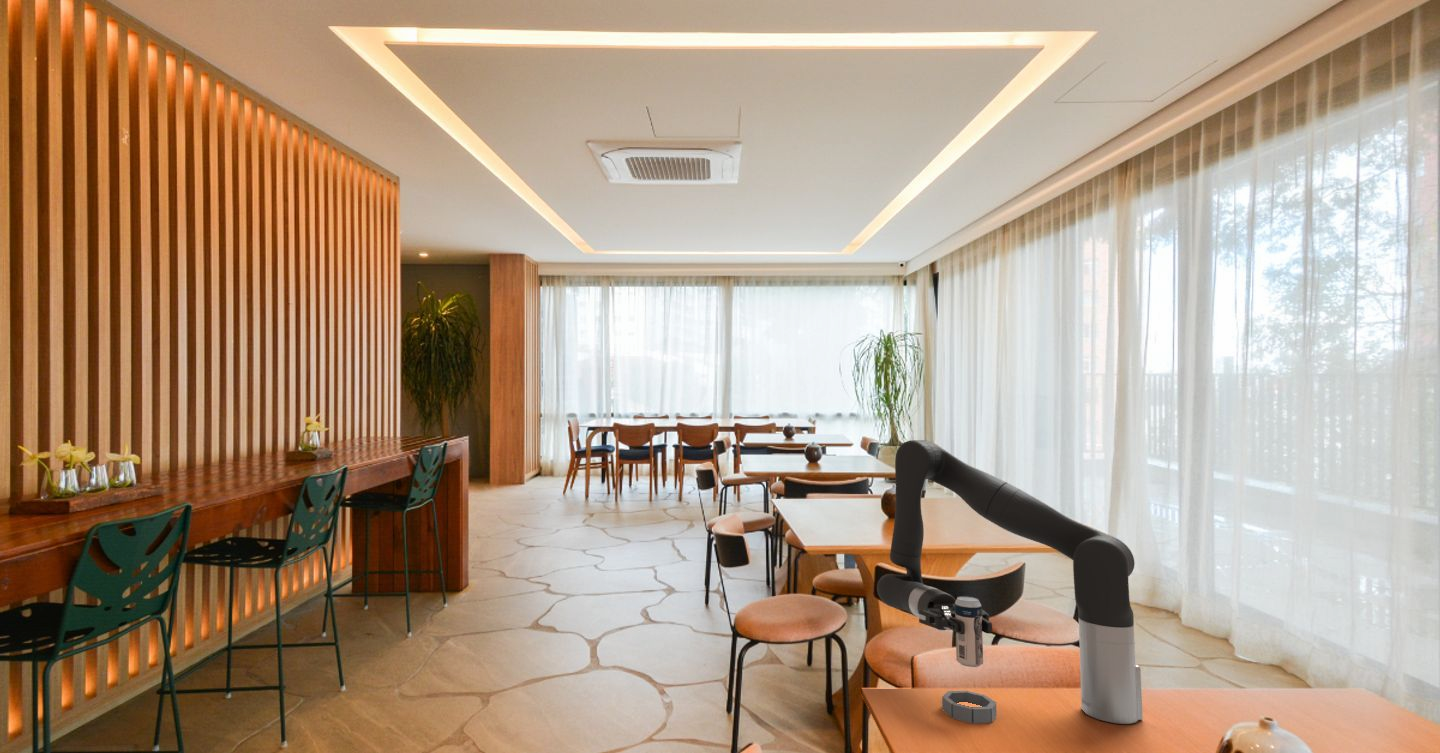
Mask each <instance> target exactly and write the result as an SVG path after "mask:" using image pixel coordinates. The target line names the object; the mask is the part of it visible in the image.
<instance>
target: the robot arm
mask: <svg viewBox="0 0 1440 753" xmlns="http://www.w3.org/2000/svg"><path fill="white" fill-rule="evenodd" d="M894 469H895V470H894V472H895V474H894V476H895V507H894V508H895V509H894V512H895V513H894V523H893V530H892V538H891V544H890V545H891V546H890V553H889V559H890V562H891V563H892V564H894V565H896V566H898V567H901V568H904V569H905V571H906V574H905V575H904V574H893V573H887V574H884V575H882V576H881V577H880V578H879V580H878V581H877V585H876V591H877V595H878V596H879V599H880V600H881V602H882V603H883V604H885V605H887V606H889V607H891V608H892V607H893V608H895V609H899V610H903V611H906V612H908V613H910V614H912V615H914V616H915V617H916V618H918V622H919V624H921V625H922V624H923V625H925V626H928V627H931V628H933V629H935V630H939V631H952V632H955V633H956V632H957V633H959V634H965V625H964V622H962V621H960V620H958V619H956V618H955V602H956V600H957V598H955V596H953V595H951V594H949V593H947V592H945V591H942V590H940V589H939V588H936V587H933V586H929V585H927V584H925V583H924V582H923V576H922V566H921V558H922V550H923V545H924V536H925V535H924V532H925V531H924V522H923V513H922V504H921V503H922V492H923V487H924V484H925V481H926V480H928V481H931V482H933V483H935V484H938V485H940V486H942V487H944V488H946V489H948V490H950V491H952V492H954V493H955V494H956V495H957V496H958V497H960V498H961V500H963V501H964V502H965V503H966V504H967V505H968V506H969V507H970V508H971V509H972V510H973V511H974V512H975V513H977V514H978V515H979V516H981V517H983V518H984V519H985V520H987V521H989V522H991V523H992V524H994V525H996V526H998V527H999V528H1001V529H1003V530H1005V531H1007V532H1009V533H1011V534H1014V535H1016V536H1020V537H1022V538H1025V539H1027V540H1030V541H1033V542H1036V543H1039V544H1042V545H1045V546H1047V547H1050V548H1052V549H1053V550H1055V551H1058V552H1059V553H1061V554H1063V555H1064V556H1066V557H1068V558H1069V559H1070V560H1072V567H1073V568H1072V570H1073V586H1074V587H1073V588H1074V600H1075V604H1076V607H1077V611H1078V614H1077V615H1078V636H1079V637H1078V638H1079V639H1078V641H1079V666H1080V672H1079V673H1080V674H1079V675H1080V698H1081V702H1080V703H1081V710H1083V711H1084V712H1085V714H1086V715H1087V716H1089V717H1091V718H1094V719H1096V720H1100V721H1103V722H1108V723H1112V724H1120V725H1130V724H1134V723H1137V722H1138V721H1142V720H1143V718H1144V716H1143V696H1142V694H1143V693H1142V674H1141V672H1142V671H1141V667H1140V666H1139V665H1138V664H1136V647H1135V646H1136V642H1135V624H1134V623H1135V622H1134V611H1133V609H1132V606H1131V602H1130V588H1129V587H1130V585H1129V576H1131V575H1132V573H1133V571H1134V569H1135V563H1136V562H1135V557H1134V555H1133V552H1132V551H1131V549H1130V548H1129V547H1128V545H1127V544H1125V543H1124V542H1123V541H1122V540H1120V539H1119V538H1117V537H1114V536H1113V535H1110V534H1107V533H1105V532H1102V531H1100V530H1097V529H1095V528H1093V527H1090V526H1087V525H1085V524H1083V523H1081V522H1078V521H1077V520H1074V519H1072V518H1070V517H1068V516H1066V515H1064V514H1063V513H1061V512H1060V511H1058V510H1056V509H1055V508H1054V507H1051V506H1050V505H1048V504H1046V503H1045V502H1043V501H1042V500H1040V499H1039V498H1036V497H1035V496H1033V495H1031V494H1029V493H1027V492H1025V490H1022V489H1020V488H1018V487H1016V486H1015V485H1012V484H1010V483H1008V482H1007V481H1005V480H1002V479H1001V478H998V477H996V476H994V475H992V474H990V473H987V472H985V471H983V470H981V469H978V468H976V467H973V466H972V465H970V464H968V463H966V462H965V461H963V460H961V459H959V458H958V457H956V456H955V455H953V454H952V453H950V452H949V451H947V450H946V449H944V448H943V447H941V446H940V445H939V444H937V443H934V442H932V441H930V440H923V439H922V440H921V439H918V440H917V439H915V440H914V439H912V440H911V439H910V440H907V441H905V442H903V443H902V444H901V445H899V447H898V448H897V450H896V453H895V462H894ZM992 631H993V622H992V621H990V614H989V613H988V612H986V611H985V610H984V609H983V608H982V633H985V634H991V633H992ZM1083 711H1082V712H1083ZM1084 712H1083V713H1084Z"/></svg>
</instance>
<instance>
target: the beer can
mask: <svg viewBox="0 0 1440 753" xmlns="http://www.w3.org/2000/svg"><path fill="white" fill-rule="evenodd" d="M982 609H983V607H982V604H981V602H980V600H979V599H978V598H977V597H972V596H957V598H956V602H955V618H956V619H958V620H960V621H962V622H964V625H965V634H959V633H957V632H955V649H956V650H955V651H956V652H955V654H956V661H957V662H958V663H959V664H960V665H962V666H964V667H969V668H978V667H980V666H982V665H983V664H984V650H983V649H984V648H983V647H984V646H983V643H984V642H983V640H984V639H983V631H982Z"/></svg>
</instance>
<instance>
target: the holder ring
mask: <svg viewBox="0 0 1440 753" xmlns="http://www.w3.org/2000/svg"><path fill="white" fill-rule="evenodd" d="M941 700H942V701H941V702H942V703H941V704H942V705H941V707H942V709H943V710H944V711H945V712H946V713H947V714H948V715H949V718H951V719H953V720H958V721H961V722H964V723H969V724H974V725H977V724H978V725H979V724H992V723H993V722H994V721H995V720H996V718H997V717H996V716H998V715H997V714H998V713H997V712H998V711H997V702H996V701H995V700H993V699H992V698H990V697H989V696H988V695H985V694H981V693H977V692H974V691H969V690H948V691H946V692H945V693H944V694H943V695H942V697H941ZM959 702H968V703H972V704H976V705H980V706H982V707H969V706H965V705H961V704H957V703H959ZM942 709H941V710H942ZM943 710H942V711H943ZM944 711H943V712H944ZM945 712H944V713H945ZM946 713H945V714H946ZM947 714H946V715H947ZM948 715H947V716H948ZM995 717H996V718H995ZM994 719H995V720H994Z"/></svg>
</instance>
